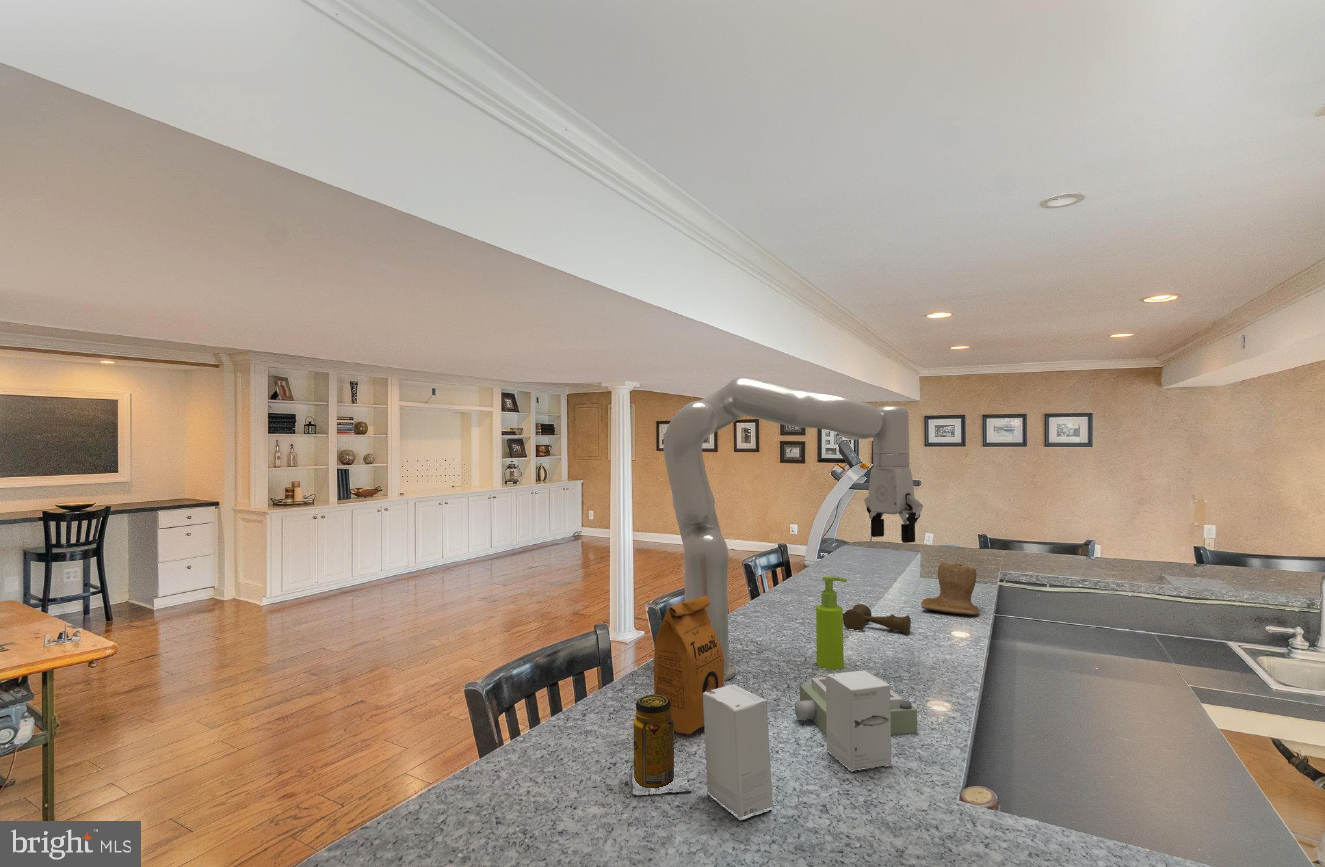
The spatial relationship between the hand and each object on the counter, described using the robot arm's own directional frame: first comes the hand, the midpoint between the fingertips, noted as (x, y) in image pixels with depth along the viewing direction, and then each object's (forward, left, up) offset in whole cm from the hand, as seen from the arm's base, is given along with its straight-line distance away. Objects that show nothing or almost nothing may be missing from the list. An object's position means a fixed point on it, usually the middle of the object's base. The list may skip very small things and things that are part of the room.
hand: (892, 539), depth 137 cm
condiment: (-57, -37, -29) cm, 74 cm away
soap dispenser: (-12, +6, -29) cm, 32 cm away
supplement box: (-25, -35, -29) cm, 52 cm away
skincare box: (-47, -44, -29) cm, 71 cm away
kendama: (+10, +32, -30) cm, 45 cm away
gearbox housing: (-20, -21, -29) cm, 41 cm away
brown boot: (+42, +45, -29) cm, 68 cm away
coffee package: (-49, -18, -29) cm, 60 cm away
